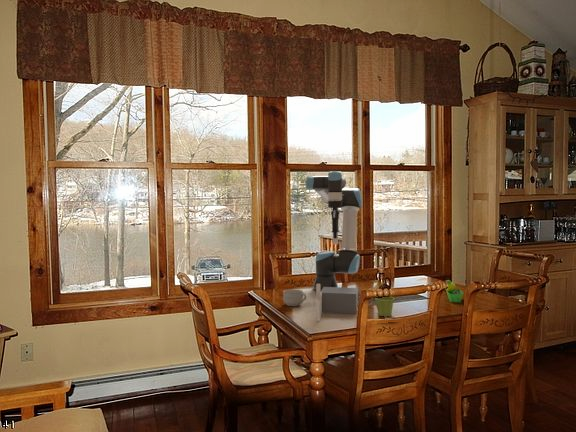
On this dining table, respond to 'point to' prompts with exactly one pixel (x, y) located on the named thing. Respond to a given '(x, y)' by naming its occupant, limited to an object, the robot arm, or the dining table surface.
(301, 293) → the teacup
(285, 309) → the dining table surface
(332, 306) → the box housing
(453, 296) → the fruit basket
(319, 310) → the door
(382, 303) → the plant pot
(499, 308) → the dining table surface
